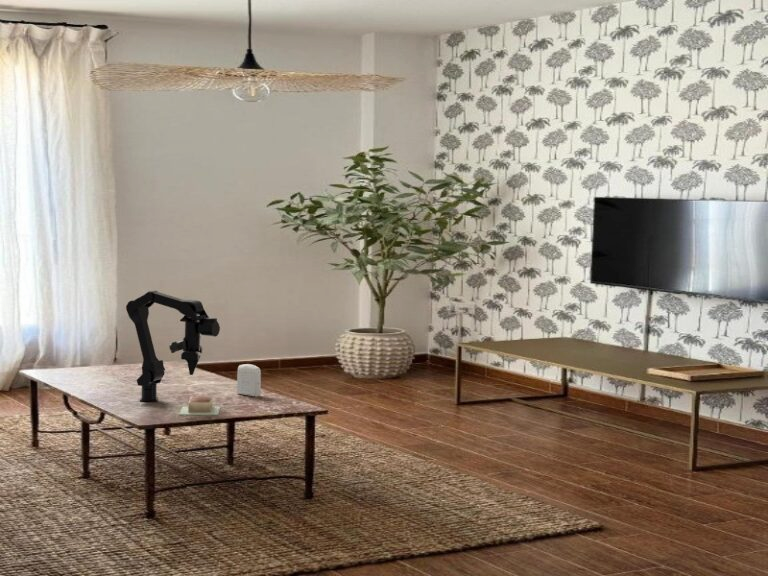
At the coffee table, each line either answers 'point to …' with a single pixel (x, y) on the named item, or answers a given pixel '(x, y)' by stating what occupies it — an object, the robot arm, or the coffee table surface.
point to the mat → (185, 412)
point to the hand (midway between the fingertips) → (191, 374)
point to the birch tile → (200, 404)
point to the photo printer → (249, 380)
